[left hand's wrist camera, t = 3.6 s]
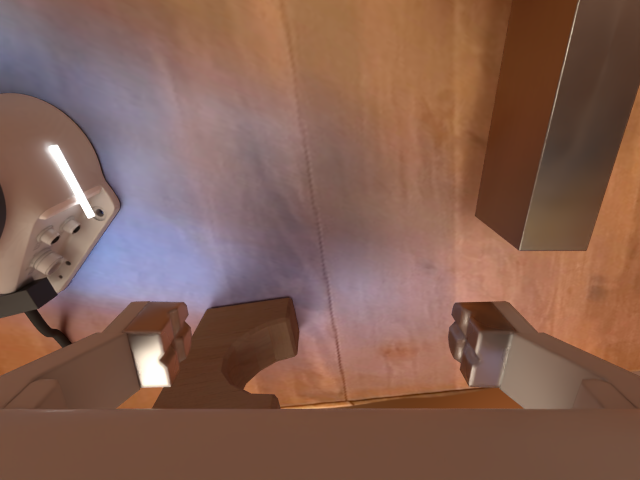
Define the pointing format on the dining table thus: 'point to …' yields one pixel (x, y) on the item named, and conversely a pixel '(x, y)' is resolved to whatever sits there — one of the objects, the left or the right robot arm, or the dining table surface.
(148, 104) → the dining table surface
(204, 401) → the decorative block
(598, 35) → the bar
